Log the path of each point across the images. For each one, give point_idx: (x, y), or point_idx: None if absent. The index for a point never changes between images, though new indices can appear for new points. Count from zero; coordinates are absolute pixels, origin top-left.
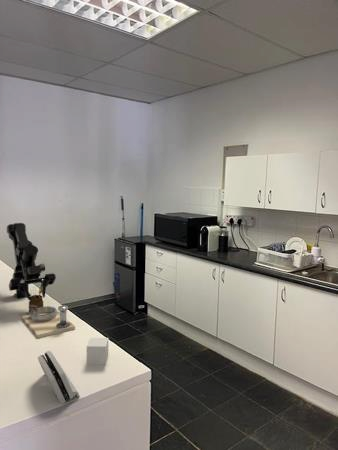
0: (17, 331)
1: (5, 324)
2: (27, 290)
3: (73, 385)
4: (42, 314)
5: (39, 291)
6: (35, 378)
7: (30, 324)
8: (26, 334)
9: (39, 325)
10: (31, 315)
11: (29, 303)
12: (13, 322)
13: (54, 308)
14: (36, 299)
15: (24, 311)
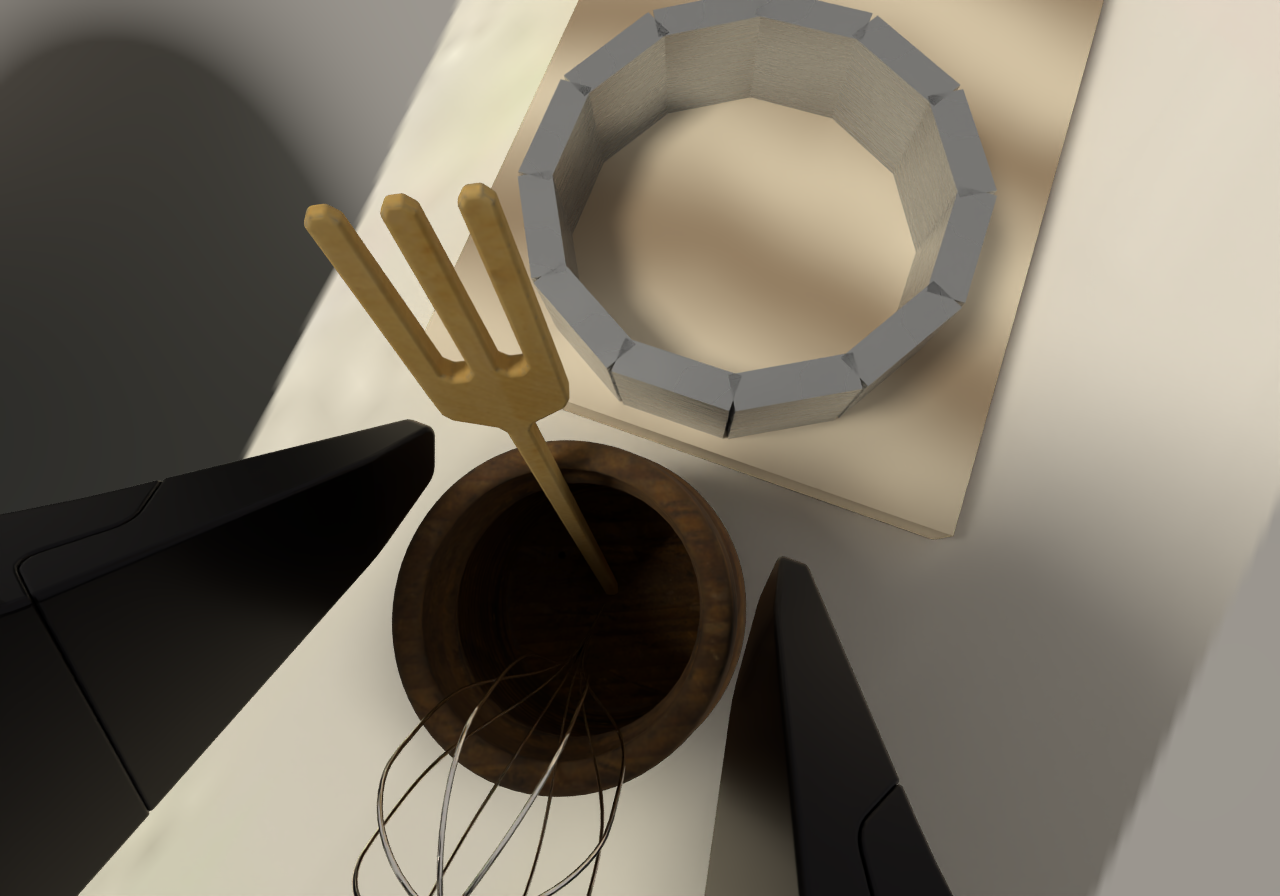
0: (1212, 196)
1: (1235, 550)
2: (826, 817)
3: None
4: (690, 324)
5: (544, 332)
6: None
7: (1040, 146)
8: (1167, 44)
9: (971, 34)
10: (987, 201)
11: (742, 639)
12: (1101, 520)
13: (555, 134)
14: (652, 466)
15: (707, 815)
